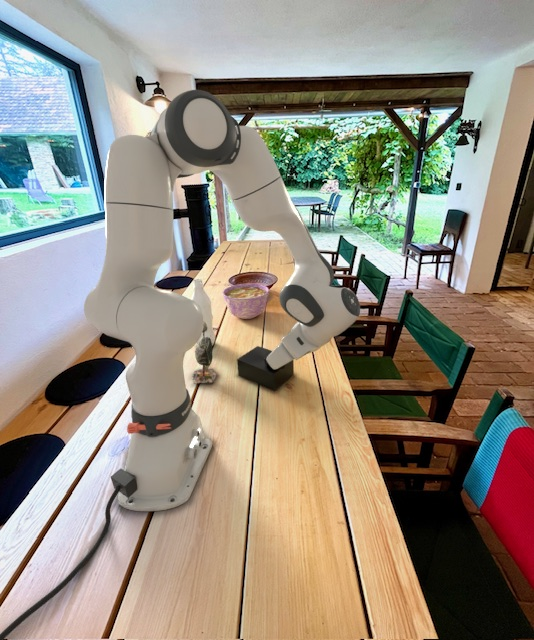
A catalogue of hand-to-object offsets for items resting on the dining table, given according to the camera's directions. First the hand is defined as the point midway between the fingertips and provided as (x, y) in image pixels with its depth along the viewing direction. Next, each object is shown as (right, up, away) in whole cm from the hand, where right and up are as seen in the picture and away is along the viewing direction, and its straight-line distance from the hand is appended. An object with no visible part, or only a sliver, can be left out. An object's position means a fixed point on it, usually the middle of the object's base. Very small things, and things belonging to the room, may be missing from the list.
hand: (281, 356), depth 93 cm
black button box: (-4, -7, +7) cm, 11 cm away
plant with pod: (-23, -7, +8) cm, 26 cm away
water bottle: (-27, +1, +26) cm, 37 cm away
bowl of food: (-13, +12, +50) cm, 53 cm away
